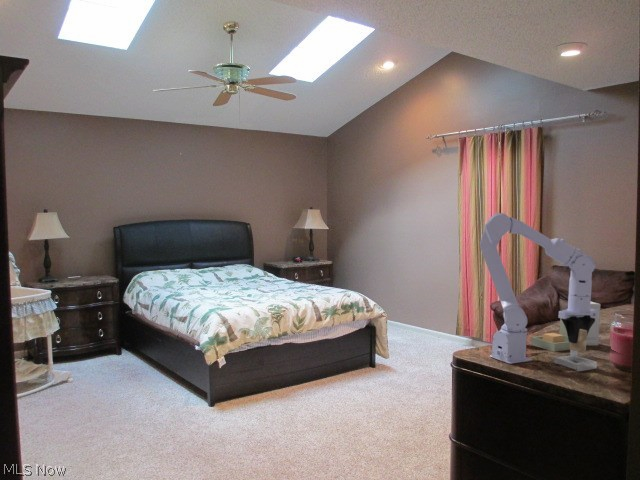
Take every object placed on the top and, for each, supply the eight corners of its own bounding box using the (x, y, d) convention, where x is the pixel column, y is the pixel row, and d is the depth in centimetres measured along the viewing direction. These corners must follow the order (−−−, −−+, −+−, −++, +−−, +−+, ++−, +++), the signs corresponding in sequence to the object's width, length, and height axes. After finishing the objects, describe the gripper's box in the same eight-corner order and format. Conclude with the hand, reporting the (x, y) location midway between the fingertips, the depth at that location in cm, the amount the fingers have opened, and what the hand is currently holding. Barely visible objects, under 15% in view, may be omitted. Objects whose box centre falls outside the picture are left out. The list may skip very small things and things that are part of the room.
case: (554, 352, 158) (555, 321, 157) (530, 345, 166) (532, 316, 165) (583, 349, 164) (585, 319, 164) (560, 342, 172) (561, 314, 172)
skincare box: (587, 342, 174) (589, 300, 174) (599, 346, 168) (602, 303, 168) (565, 342, 173) (567, 300, 172) (576, 346, 167) (579, 303, 166)
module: (552, 348, 161) (553, 336, 161) (542, 345, 165) (542, 333, 164) (562, 347, 163) (563, 335, 163) (552, 344, 167) (553, 332, 167)
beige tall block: (578, 352, 141) (580, 331, 140) (569, 349, 143) (570, 328, 143) (585, 351, 142) (587, 330, 142) (576, 348, 145) (577, 328, 144)
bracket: (577, 371, 138) (578, 353, 138) (553, 363, 145) (554, 347, 145) (596, 368, 142) (597, 351, 142) (572, 361, 149) (573, 344, 148)
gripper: (575, 298, 136) (572, 347, 136) (608, 296, 142) (606, 343, 143) (553, 294, 142) (550, 341, 142) (586, 292, 148) (583, 337, 149)
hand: (576, 342), depth 143 cm, fingers closed on beige tall block, 3 cm apart
